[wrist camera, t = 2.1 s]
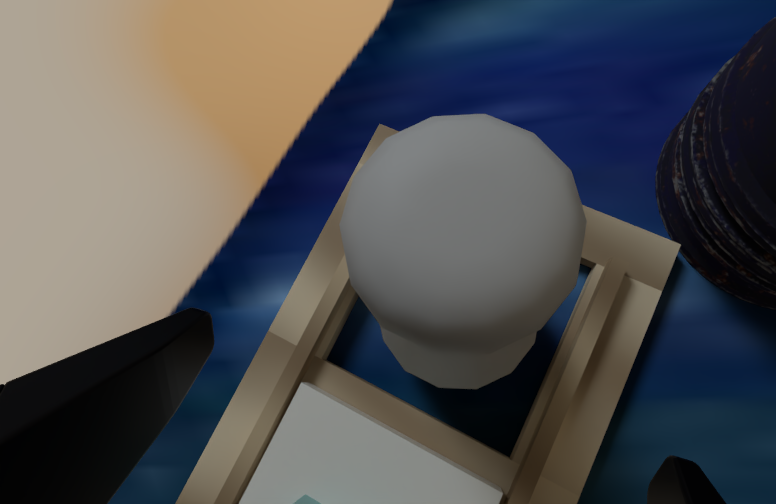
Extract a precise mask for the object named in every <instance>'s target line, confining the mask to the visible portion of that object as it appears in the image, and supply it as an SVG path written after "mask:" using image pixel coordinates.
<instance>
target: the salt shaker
mask: <svg viewBox="0 0 776 504" xmlns="http://www.w3.org/2000/svg"><path fill="white" fill-rule="evenodd" d="M586 224H587V220H586V217H585V214H584V210H583V207H582V204H581V201H580V197H579V194H578V191H577V188H576V185H575V181H574V178H573V175H572V172H571V170H570V169H569V168H568V167H567V166H566V165H565V164H564V163H563V162H562V161H561V160H560V159H559V158H558V157H557V156H556V155H555V154H554V153H553V152H552V151H551V150H550V149H549V148H548V147H547V146H546V145H545V144H544V143H543V142H542V141H541V140H540V139H539V138H538V137H537V136H536V135H535V134H534V133H532V132H530V131H527V130H525V129H522V128H519V127H517V126H514V125H512V124H509V123H507V122H504V121H502V120H499V119H497V118H494V117H492V116H489V115H487V114H472V115H453V116H434V117H431V118H429V119H426V120H424V121H422V122H420V123H418V124H416V125H413V126H411V127H409V128H407V129H405V130H403V131H401V132H398V133H396V134H394V135H392V136H390V137H388V138H386V139H385V140H384V141H383V143H382V144H381V145H380V146H379V147H378V148H377V150H376V151H375V152H374V153H373V154H372V156H371V157H370V158H369V159H368V160H367V161H366V163H365V164H364V165H363V166H362V167H361V169H360V170H359V171H358V172H357V173H356V174H355V176H354V177H353V181H352V184H351V187H350V191H349V194H348V197H347V201H346V204H345V208H344V211H343V214H342V218H341V221H340V224H339V226H340V231H341V237H342V242H343V247H344V252H345V257H346V262H347V267H348V272H349V278H350V283H351V286H352V287H353V289H354V290H355V291H356V293H357V294H358V295H359V297H360V298H361V300H362V301H363V302H364V304H365V305H366V306H367V308H368V309H369V310H370V312H371V313H372V315H373V316H374V317H375V319H376V320H377V321H378V323H379V324H380V327H381V331H382V336H383V341H384V342H385V343H386V345H387V346H388V348H389V349H390V350H391V352H392V353H393V355H394V356H395V357H396V359H397V360H398V362H399V363H400V364H401V366H402V367H403V369H404V370H405V371H407V372H409V373H411V374H413V375H415V376H417V377H419V378H421V379H423V380H425V381H427V382H429V383H431V384H433V385H434V386H436V387H438V388H459V389H478V388H480V387H482V386H485V385H487V384H489V383H491V382H493V381H495V380H497V379H499V378H501V377H504V376H506V375H508V374H510V373H512V371H513V370H514V369H515V368H516V366H517V365H518V364H519V363H520V361H521V360H522V359H523V357H524V356H525V355H526V354H527V352H528V351H529V350H530V348H531V347H532V346H533V345H534V343H535V339H536V333H537V331H539V330H541V329H542V327H543V326H544V325H545V324H546V322H547V321H548V320H549V319H550V317H551V316H552V315H553V314H554V312H555V311H556V310H557V309H558V307H559V306H560V305H561V304H562V302H563V301H564V300H565V299H566V297H567V296H568V295H569V294H570V292H571V291H572V290H573V289H574V287H575V286H576V282H577V278H578V273H579V267H580V261H581V254H582V248H583V242H584V236H585V230H586Z"/></svg>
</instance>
